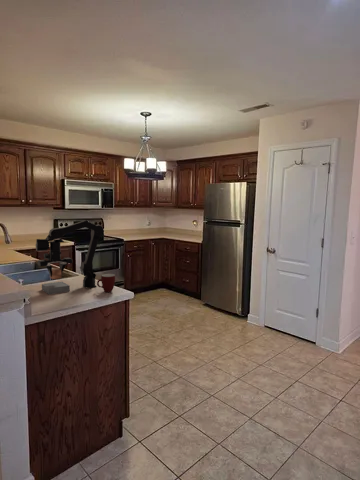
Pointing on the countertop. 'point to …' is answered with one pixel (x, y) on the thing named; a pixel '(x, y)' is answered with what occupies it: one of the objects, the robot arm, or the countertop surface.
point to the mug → (107, 282)
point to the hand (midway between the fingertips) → (55, 276)
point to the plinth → (55, 287)
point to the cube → (56, 273)
